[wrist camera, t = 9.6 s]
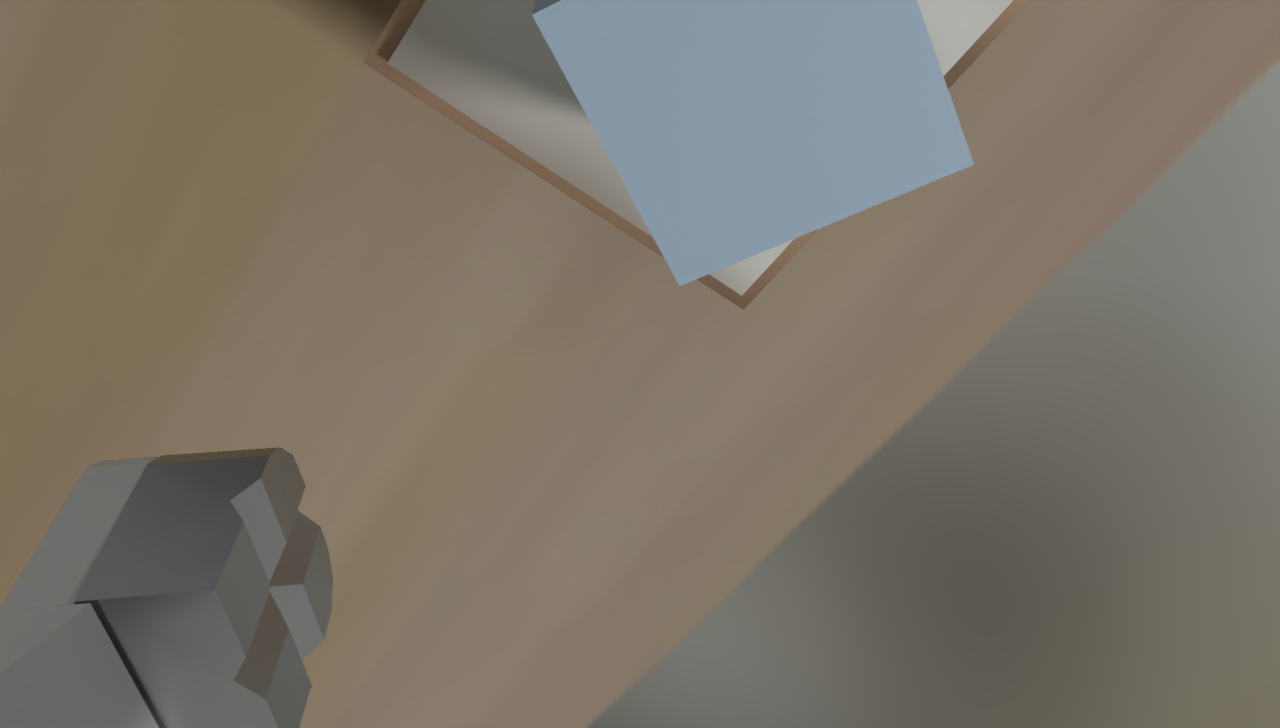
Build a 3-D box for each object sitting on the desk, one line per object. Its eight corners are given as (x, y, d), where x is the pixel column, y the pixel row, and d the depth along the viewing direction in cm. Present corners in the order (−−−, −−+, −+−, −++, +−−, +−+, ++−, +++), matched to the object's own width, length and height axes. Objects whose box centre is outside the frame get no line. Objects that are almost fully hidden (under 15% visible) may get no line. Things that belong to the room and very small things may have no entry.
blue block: (674, 138, 24) (679, 286, 19) (560, -86, 21) (531, 14, 16) (903, 35, 22) (974, 164, 17) (811, -218, 20) (864, -152, 15)
